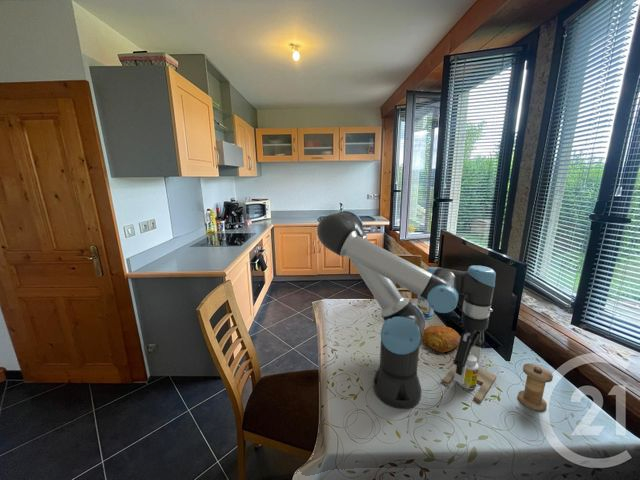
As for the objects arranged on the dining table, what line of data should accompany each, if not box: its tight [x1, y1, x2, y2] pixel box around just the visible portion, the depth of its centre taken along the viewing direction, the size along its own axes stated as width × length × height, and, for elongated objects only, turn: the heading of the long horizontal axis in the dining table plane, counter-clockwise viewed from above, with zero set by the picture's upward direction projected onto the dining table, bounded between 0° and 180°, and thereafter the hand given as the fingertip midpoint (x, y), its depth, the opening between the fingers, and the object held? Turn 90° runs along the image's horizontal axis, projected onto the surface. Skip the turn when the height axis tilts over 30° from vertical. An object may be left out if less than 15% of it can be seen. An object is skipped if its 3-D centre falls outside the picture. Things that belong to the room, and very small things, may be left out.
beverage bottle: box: [416, 295, 435, 320], centre depth 134 cm, size 8×8×20 cm
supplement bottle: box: [457, 353, 480, 390], centre depth 89 cm, size 6×6×10 cm
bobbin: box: [517, 362, 554, 412], centre depth 81 cm, size 7×7×12 cm
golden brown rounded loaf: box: [422, 324, 461, 353], centre depth 113 cm, size 14×16×8 cm
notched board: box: [441, 364, 497, 404], centre depth 91 cm, size 16×12×1 cm
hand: (466, 371), depth 89 cm, fingers open, 13 cm apart
